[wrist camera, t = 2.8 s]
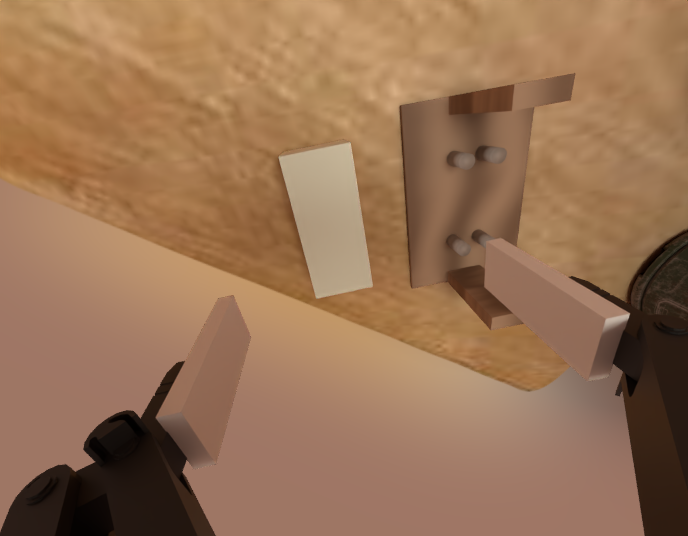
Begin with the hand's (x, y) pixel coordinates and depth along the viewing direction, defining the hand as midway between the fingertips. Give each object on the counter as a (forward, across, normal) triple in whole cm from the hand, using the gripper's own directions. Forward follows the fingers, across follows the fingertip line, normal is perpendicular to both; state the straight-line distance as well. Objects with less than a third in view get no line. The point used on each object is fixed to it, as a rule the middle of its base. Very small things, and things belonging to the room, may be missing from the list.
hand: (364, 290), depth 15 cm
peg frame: (+18, +14, -2) cm, 22 cm away
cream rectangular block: (+18, -1, -1) cm, 18 cm away
